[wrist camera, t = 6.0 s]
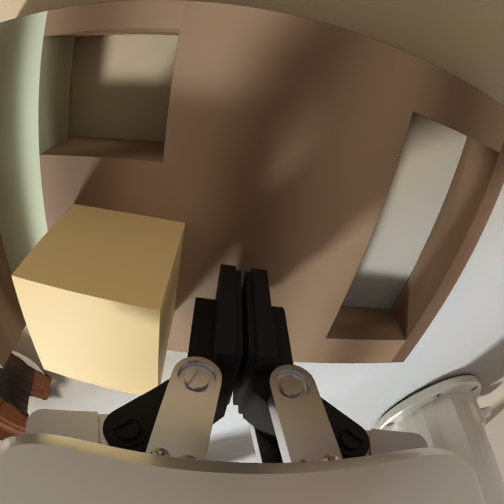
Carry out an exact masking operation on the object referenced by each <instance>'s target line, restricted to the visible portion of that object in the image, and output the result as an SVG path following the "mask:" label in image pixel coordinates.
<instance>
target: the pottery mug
mask: <svg viewBox="0 0 504 504" xmlns="http://www.w3.org/2000/svg"><path fill="white" fill-rule="evenodd" d="M50 384H51V378H50V377H48V376H47V375H44V374H43V373H41V372H39V371H37V370H35V369H33V368H32V367H30V366H28V365H27V364H26V363H25V362H24V361H23V360H21V359H20V358H19V357H17V356H15V355H14V354H12V353H11V354H10V356H9V358H8V360H7V362H6V364H5V366H4V368H0V440H1V441H2V440H4V439H5V438H8V437H11V436H15V435H19V434H25V433H26V423H27V419H28V416H29V415H28V413H27V408H28V399H29V396H34V397H37V398H41V399H43V400H47V399H48V396H49V389H50Z"/></svg>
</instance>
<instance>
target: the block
mask: <svg viewBox="0 0 504 504" xmlns="http://www.w3.org/2000/svg"><path fill="white" fill-rule="evenodd" d="M184 229H185V223H183V222H177V221H171V220H166V219H160V218H155V217H149V216H143V215H137V214H131V213H125V212H119V211H113V210H107V209H101V208H95V207H89V206H83V205H77V204H73V205H72V206H71V207H70V208H69V209H68V210H67V211H66V212H65V213H64V214H63V215H62V216H61V217H60V218H59V220H58V221H57V222H56V223H55V224H54V225H53V226H52V227H51V228H50V229H49V231H48V232H47V233H46V234H45V235H44V236H43V237H42V239H41V240H40V241H39V242H38V243H37V244H36V246H35V247H34V248H33V249H32V250H31V251H30V253H29V254H28V255H27V256H26V258H25V259H24V260H23V261H22V263H21V264H20V265H19V266H18V268H17V269H16V270H15V271H14V273H13V274H12V275H11V276H12V280H13V283H14V287H15V290H16V294H17V297H18V300H19V304H20V307H21V310H22V313H23V316H24V319H25V322H26V325H27V328H28V330H29V333H30V336H31V338H32V341H33V344H34V346H35V349H36V351H37V354H38V356H39V359H40V361H41V363H42V366H43V368H44V369H45V370H48V371H51V372H54V373H57V374H60V375H63V376H66V377H70V378H73V379H76V380H80V381H83V382H87V383H91V384H94V385H98V386H102V387H106V388H110V389H114V390H118V391H123V392H127V393H132V394H136V395H143V394H145V393H146V392H148V391H150V390H152V389H153V388H155V387H157V386H158V385H160V383H161V378H162V372H163V367H164V361H165V356H166V351H167V346H168V341H169V336H170V331H171V326H172V321H173V316H174V311H175V302H176V292H177V283H178V275H179V267H180V259H181V251H182V243H183V236H184Z"/></svg>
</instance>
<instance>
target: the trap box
mask: <svg viewBox="0 0 504 504" xmlns="http://www.w3.org/2000/svg"><path fill="white" fill-rule="evenodd" d="M122 34H162V35H179V38H178V44H177V50H176V56H175V63H174V69H173V76H172V83H171V91H170V99H169V107H168V116H167V125H166V135H165V143H160V142H149V141H136V140H121V139H102V138H73V137H69V103H70V85H71V72H72V61H73V52H74V44H75V38H77V37H87V36H101V35H122ZM413 112H414V113H417V114H419V115H422V116H424V117H427V118H429V119H431V120H434V121H436V122H438V123H441V124H443V125H445V126H447V127H449V128H452V129H454V130H456V131H458V132H460V133H462V134H464V135H466V136H468V137H467V140H466V144H465V147H464V150H463V153H462V156H461V159H460V162H459V164H458V167H457V170H456V173H455V175H454V178H453V181H452V184H451V186H450V189H449V191H448V194H447V196H446V199H445V201H444V204H443V206H442V209H441V211H440V213H439V216H438V218H437V220H436V223H435V225H434V227H433V229H432V232H431V234H430V236H429V238H428V240H427V243H426V245H425V247H424V249H423V251H422V253H421V255H420V257H419V259H418V261H417V263H416V265H415V267H414V269H413V271H412V273H411V275H410V277H409V279H408V281H407V283H406V285H405V287H404V289H403V290H402V292H401V294H400V296H399V298H398V300H397V301H396V303H395V305H394V307H393V309H392V310H384V309H369V308H355V307H341V305H342V303H343V301H344V298H345V296H346V294H347V292H348V290H349V287H350V285H351V283H352V281H353V278H354V276H355V274H356V271H357V269H358V267H359V264H360V262H361V260H362V257H363V255H364V252H365V250H366V248H367V245H368V243H369V240H370V238H371V235H372V233H373V230H374V228H375V225H376V222H377V220H378V217H379V214H380V212H381V209H382V206H383V204H384V201H385V198H386V195H387V193H388V190H389V187H390V184H391V181H392V178H393V175H394V172H395V170H396V167H397V163H398V160H399V157H400V154H401V151H402V148H403V145H404V141H405V138H406V135H407V132H408V128H409V125H410V121H411V118H412V114H413ZM503 183H504V106H503V105H502V104H500V103H499V102H497V101H496V100H494V99H493V98H491V97H489V96H488V95H486V94H485V93H483V92H482V91H480V90H478V89H477V88H475V87H473V86H472V85H470V84H468V83H466V82H465V81H463V80H461V79H459V78H458V77H456V76H454V75H452V74H450V73H448V72H447V71H445V70H443V69H441V68H439V67H437V66H435V65H433V64H431V63H429V62H427V61H425V60H423V59H420V58H418V57H416V56H414V55H412V54H409V53H407V52H405V51H403V50H400V49H398V48H395V47H393V46H391V45H388V44H386V43H383V42H380V41H378V40H375V39H372V38H370V37H367V36H364V35H361V34H358V33H355V32H352V31H349V30H346V29H343V28H340V27H337V26H333V25H330V24H326V23H323V22H319V21H315V20H311V19H307V18H303V17H299V16H295V15H290V14H286V13H281V12H276V11H271V10H265V9H260V8H253V7H247V6H240V5H232V4H223V3H213V2H201V1H184V0H133V1H116V2H104V3H94V4H86V5H78V6H72V7H65V8H60V9H54V10H49V11H44V12H40V13H35V14H31V15H27V16H23V17H19V18H15V19H11V20H8V21H5V22H1V23H0V368H4V366H5V364H6V362H7V360H8V358H9V356H10V354H11V352H12V350H13V348H14V346H15V344H16V342H17V340H18V338H19V337H20V335H21V333H22V331H23V329H24V327H25V326H26V322H25V319H24V316H23V313H22V310H21V307H20V304H19V300H18V297H17V294H16V290H15V287H14V283H13V280H12V276H11V275H12V274H13V273H14V271H15V270H16V269H17V268H18V266H19V265H20V264H21V263H22V261H23V260H24V259H25V258H26V256H27V255H28V254H29V253H30V251H31V250H32V249H33V248H34V247H35V246H36V244H37V243H38V242H39V241H40V240H41V239H42V237H43V236H44V235H45V234H46V233H47V232H48V231H49V229H50V228H51V227H52V226H53V225H54V224H55V223H56V222H57V221H58V220H59V218H60V217H61V216H62V215H63V214H64V213H65V212H66V211H67V210H68V209H69V208H70V207H71V206H72V205H73V204H77V205H83V206H89V207H95V208H101V209H107V210H113V211H119V212H125V213H131V214H137V215H143V216H149V217H155V218H160V219H166V220H171V221H177V222H183V223H185V229H184V236H183V243H182V251H181V259H180V267H179V275H178V283H177V292H176V302H175V311H174V316H173V321H172V326H171V331H170V336H169V341H168V346H167V350H172V351H179V352H187V353H188V350H189V342H190V334H191V327H192V319H193V312H194V305H195V299H196V297H199V298H207V299H215V297H216V291H217V284H218V278H219V272H220V266H221V264H226V265H233V266H236V270H240V271H241V280H242V283H243V279H244V274H245V271H248V272H250V271H251V268H256V269H264V270H267V274H268V282H269V290H270V298H271V306H276V307H283V308H284V310H285V315H286V321H287V327H288V334H289V340H290V346H291V352H292V359H293V362H312V363H390V362H404V360H405V359H406V358H407V356H408V355H409V354H410V352H411V351H412V350H413V348H414V347H415V345H416V344H417V343H418V341H419V340H420V338H421V337H422V335H423V334H424V333H425V331H426V330H427V328H428V327H429V325H430V324H431V322H432V321H433V319H434V318H435V316H436V314H437V313H438V311H439V310H440V308H441V307H442V305H443V303H444V302H445V300H446V299H447V297H448V295H449V294H450V292H451V290H452V288H453V287H454V285H455V283H456V282H457V280H458V278H459V276H460V275H461V273H462V271H463V269H464V267H465V265H466V264H467V262H468V260H469V258H470V256H471V254H472V252H473V250H474V248H475V246H476V244H477V242H478V240H479V238H480V236H481V234H482V232H483V230H484V228H485V226H486V223H487V221H488V219H489V217H490V215H491V212H492V210H493V208H494V205H495V203H496V201H497V198H498V196H499V193H500V191H501V188H502V186H503Z"/></svg>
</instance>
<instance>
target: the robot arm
mask: <svg viewBox="0 0 504 504" xmlns="http://www.w3.org/2000/svg"><path fill="white" fill-rule="evenodd" d="M232 392H233V405H238V411H239V413H240V414H243V418H244V419H245V420H247V421H248V422H249V423H250V431H251V436H252V441H253V445H254V450H255V454H256V459H257V463H238V462H219V461H206V460H205V458H206V453H207V448H208V444H209V439H210V434H211V430H212V425H213V424H214V423H215V422H217V421H218V420H219V419H221V418H222V417H223V416H224V414H225V411H226V407H227V404H228V405H229V403H230V399H231V396H232ZM480 392H481V385H480V383H479V381H478V379H477V378H476V377H475V376H472V375H463V376H457V377H453V378H450V379H447V380H444V381H441V382H439V383H436V384H434V385H432V386H430V387H427V388H425V389H423V390H421V391H419V392H417V393H415V394H414V395H412V396H410V397H409V398H407V399H405V400H404V401H402V402H401V403H399V404H398V405H396V406H395V407H393V408H392V409H391V410H389V411H388V412H387V413H386V414H385V415H384V416H383V417H382V418H381V419H380V420H379V421H378V423H377V424H376V426H375V429H370V430H369V431H367V430H364V429H363V428H362V427H361V426H360V425H358V424H357V423H356V422H354V421H353V420H351V419H350V418H349V417H347V416H346V415H344V414H343V413H342V412H340V411H339V410H337V409H336V408H335V407H333V406H332V405H331V404H329V403H328V402H327V401H325V400H324V399H323V398H321V397H320V394H319V391H318V389H317V386H316V383H315V381H314V379H313V377H312V375H311V374H310V373H309V372H308V371H307V370H305V369H303V368H302V367H299V366H296V365H293V359H292V352H291V346H290V340H289V334H288V327H287V321H286V315H285V310H284V308H283V307H276V306H271V298H270V290H269V282H268V274H267V270H264V269H256V268H251V271H250V272H248V271H245V274H244V279H243V283H242V280H241V271H240V270H236V266H233V265H226V264H221V266H220V272H219V278H218V284H217V291H216V297H215V299H207V298H199V297H196V299H195V305H194V312H193V319H192V327H191V334H190V342H189V350H188V357H187V358H185V359H182V360H181V361H179V362H178V363H177V364H176V365H175V367H174V369H173V371H172V374H171V377H170V379H169V380H167V381H165V382H164V383H162V384H160V385H158V386H157V387H155V388H153V389H152V390H150V391H148V392H146V393H145V394H143V395H141V396H139V397H138V398H136V399H134V400H132V401H131V402H129V403H127V404H125V405H124V406H122V407H120V408H118V409H116V410H115V411H113V412H112V413H110V414H98V412H87V411H65V410H51V409H39V410H36V411H34V412H33V413H31V415H30V416H29V417H28V419H27V423H26V433H25V434H19V435H15V436H11V437H8V438H5V439H4V440H2V441H1V442H0V504H504V482H503V479H502V476H501V473H500V470H499V467H498V464H497V462H496V459H495V456H494V453H493V450H492V448H491V445H490V443H489V440H488V438H487V435H486V432H485V430H484V426H485V424H486V418H487V417H490V415H491V414H492V409H491V407H489V406H487V407H484V408H481V409H480V407H479V405H478V403H477V400H476V399H477V398H478V396H479V394H480Z"/></svg>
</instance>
